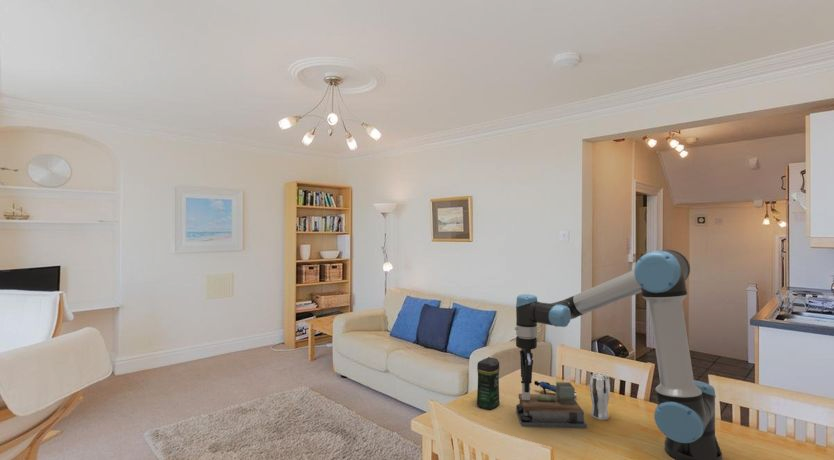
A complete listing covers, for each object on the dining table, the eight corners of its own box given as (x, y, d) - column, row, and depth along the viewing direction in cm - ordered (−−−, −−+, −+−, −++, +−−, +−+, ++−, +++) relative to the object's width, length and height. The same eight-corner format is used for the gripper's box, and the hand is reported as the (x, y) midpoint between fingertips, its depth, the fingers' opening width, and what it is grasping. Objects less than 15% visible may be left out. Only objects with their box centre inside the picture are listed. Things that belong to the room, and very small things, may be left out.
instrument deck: (581, 412, 150) (581, 391, 150) (524, 410, 151) (524, 390, 151) (571, 399, 162) (571, 379, 162) (518, 397, 163) (518, 378, 163)
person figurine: (578, 399, 180) (537, 385, 189) (580, 389, 179) (538, 375, 189) (572, 408, 170) (529, 393, 180) (574, 397, 170) (530, 383, 180)
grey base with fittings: (587, 428, 149) (587, 413, 149) (521, 426, 151) (521, 411, 151) (576, 413, 162) (576, 399, 162) (515, 411, 163) (515, 397, 163)
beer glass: (589, 418, 158) (589, 378, 158) (590, 411, 164) (590, 372, 164) (609, 422, 154) (609, 381, 154) (610, 414, 161) (610, 375, 161)
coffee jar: (492, 411, 164) (492, 364, 164) (474, 406, 168) (474, 360, 168) (502, 403, 172) (502, 357, 172) (484, 398, 176) (484, 354, 176)
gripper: (513, 331, 164) (513, 392, 164) (519, 340, 151) (518, 406, 151) (532, 332, 163) (532, 392, 163) (540, 341, 150) (540, 407, 150)
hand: (525, 399), depth 157 cm, fingers closed
